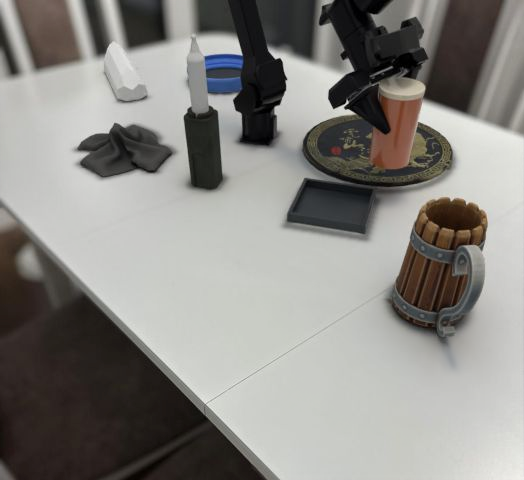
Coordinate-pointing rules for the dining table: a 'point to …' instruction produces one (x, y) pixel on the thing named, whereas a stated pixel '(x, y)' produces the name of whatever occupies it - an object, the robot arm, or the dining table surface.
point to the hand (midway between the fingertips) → (402, 126)
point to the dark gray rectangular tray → (332, 205)
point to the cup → (397, 122)
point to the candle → (201, 126)
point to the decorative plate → (357, 152)
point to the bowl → (223, 72)
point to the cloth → (123, 150)
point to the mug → (442, 265)
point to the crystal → (123, 74)
